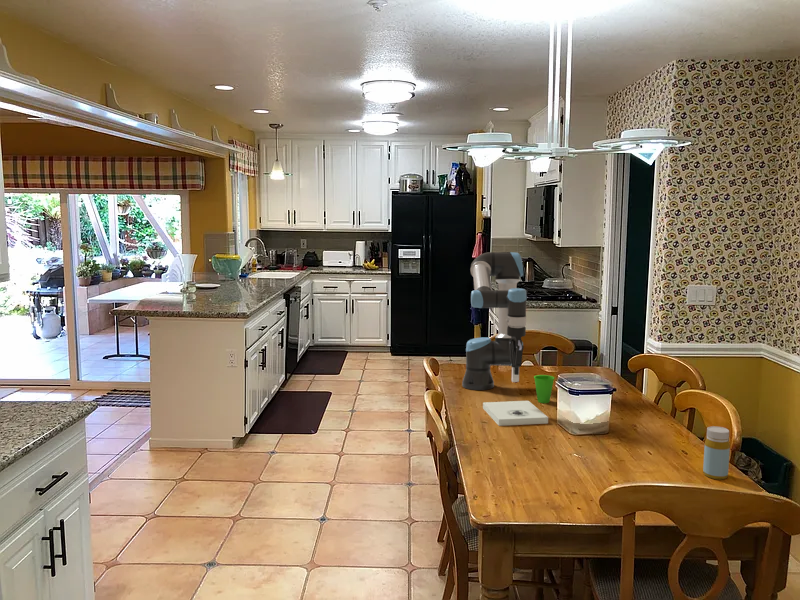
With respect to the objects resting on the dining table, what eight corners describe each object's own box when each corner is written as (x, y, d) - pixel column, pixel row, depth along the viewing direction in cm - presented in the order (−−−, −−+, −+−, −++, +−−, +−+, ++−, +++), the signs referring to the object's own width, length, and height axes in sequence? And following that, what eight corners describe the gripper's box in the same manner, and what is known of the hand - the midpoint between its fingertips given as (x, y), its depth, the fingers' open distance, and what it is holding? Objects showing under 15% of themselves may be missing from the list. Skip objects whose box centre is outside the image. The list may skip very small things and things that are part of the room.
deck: (482, 408, 277) (483, 402, 277) (528, 406, 280) (528, 400, 279) (498, 425, 254) (498, 419, 253) (548, 423, 256) (548, 417, 256)
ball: (512, 410, 263) (514, 412, 260) (520, 409, 264) (522, 411, 261) (512, 418, 264) (514, 420, 260) (520, 417, 264) (522, 419, 261)
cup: (552, 399, 291) (553, 375, 289) (555, 404, 282) (556, 380, 281) (532, 398, 292) (532, 374, 290) (534, 404, 283) (534, 379, 281)
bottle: (698, 472, 206) (701, 426, 205) (719, 471, 207) (722, 425, 205) (710, 480, 200) (713, 433, 198) (732, 479, 200) (735, 432, 198)
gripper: (503, 323, 274) (502, 377, 278) (512, 329, 261) (511, 386, 265) (520, 322, 275) (519, 376, 279) (530, 329, 262) (528, 385, 266)
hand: (515, 381), depth 272 cm, fingers closed
